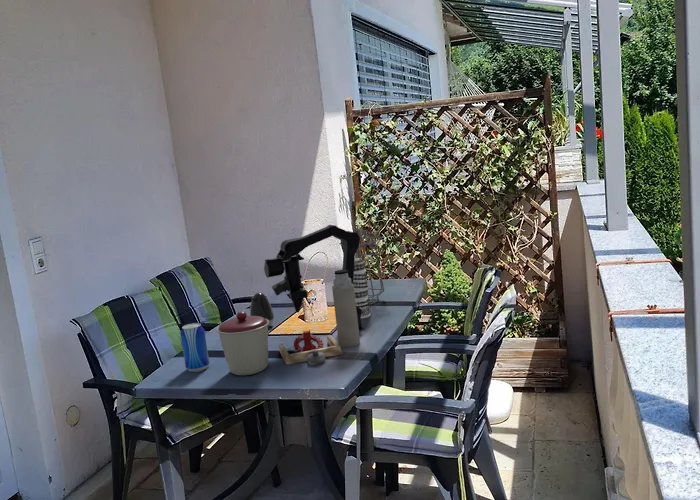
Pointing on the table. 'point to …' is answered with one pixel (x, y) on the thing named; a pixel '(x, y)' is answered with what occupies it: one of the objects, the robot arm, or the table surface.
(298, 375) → the table surface
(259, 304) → the dark grey rounded cone
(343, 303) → the thermos bottle
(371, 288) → the geometric lantern
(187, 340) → the beer can
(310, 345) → the red cog wheel
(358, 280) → the decorative candle
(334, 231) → the robot arm
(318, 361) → the carrier
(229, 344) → the canister
